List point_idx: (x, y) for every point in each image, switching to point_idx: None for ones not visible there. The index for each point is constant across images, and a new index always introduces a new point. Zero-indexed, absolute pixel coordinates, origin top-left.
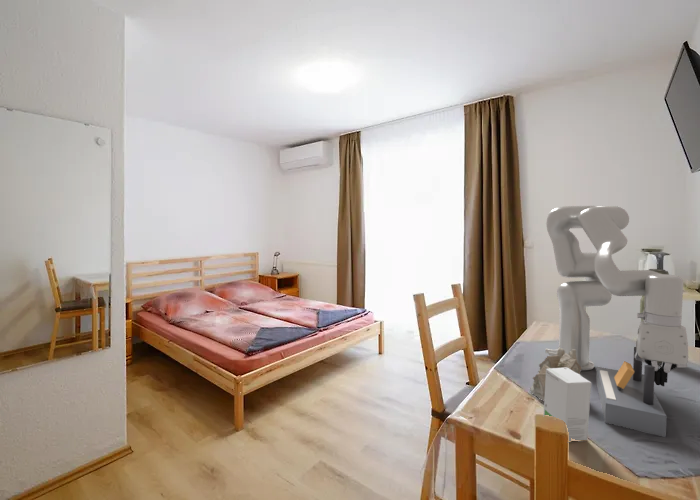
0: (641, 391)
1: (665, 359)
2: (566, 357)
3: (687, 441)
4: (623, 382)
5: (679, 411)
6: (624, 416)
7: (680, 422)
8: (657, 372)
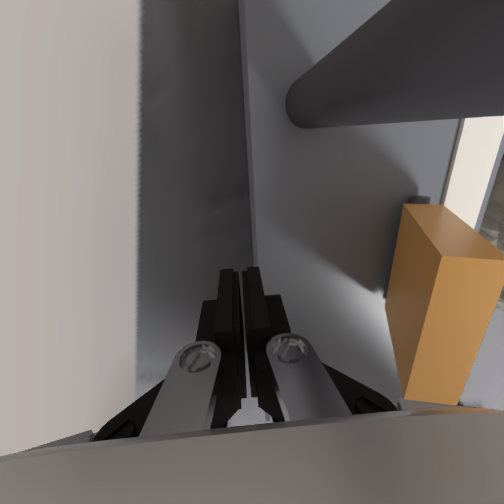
0: (309, 249)
1: (200, 497)
2: None
3: (162, 15)
4: (432, 215)
5: (175, 282)
6: None
7: (177, 194)
8: (268, 320)
